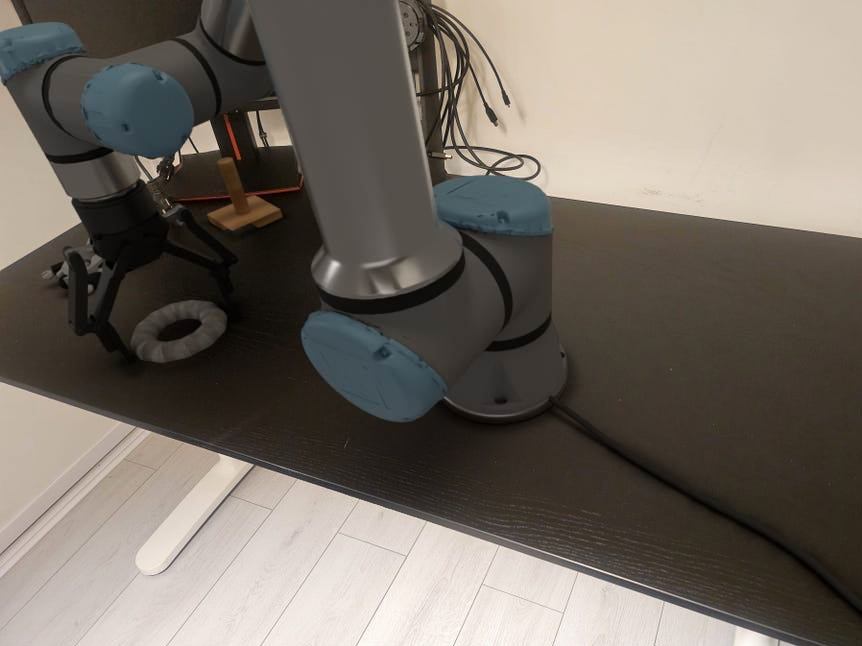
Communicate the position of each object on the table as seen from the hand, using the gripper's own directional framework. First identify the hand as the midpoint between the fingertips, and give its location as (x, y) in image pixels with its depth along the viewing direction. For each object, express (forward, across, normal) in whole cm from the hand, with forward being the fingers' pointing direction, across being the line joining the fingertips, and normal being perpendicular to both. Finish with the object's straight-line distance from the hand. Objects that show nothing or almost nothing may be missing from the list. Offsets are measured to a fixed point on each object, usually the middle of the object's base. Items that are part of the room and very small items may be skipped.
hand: (183, 339), depth 80 cm
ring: (-1, 0, 0) cm, 1 cm away
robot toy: (0, 0, -26) cm, 26 cm away
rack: (0, -22, -24) cm, 32 cm away
